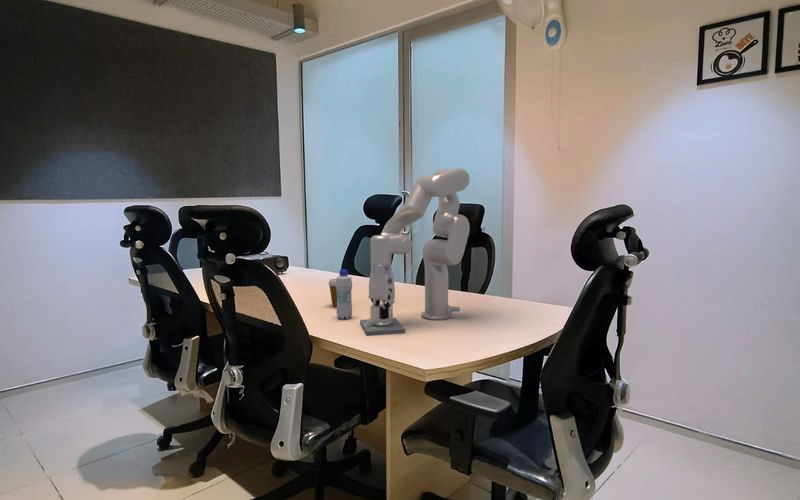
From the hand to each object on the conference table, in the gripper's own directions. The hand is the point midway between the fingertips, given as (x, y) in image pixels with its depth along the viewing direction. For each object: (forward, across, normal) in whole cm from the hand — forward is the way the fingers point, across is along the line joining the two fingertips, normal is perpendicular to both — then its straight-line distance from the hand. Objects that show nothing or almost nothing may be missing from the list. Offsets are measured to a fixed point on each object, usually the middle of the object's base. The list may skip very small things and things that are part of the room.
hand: (381, 317), depth 179 cm
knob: (+2, 0, +1) cm, 3 cm away
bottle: (+4, +22, 0) cm, 22 cm away
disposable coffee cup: (+4, +41, -11) cm, 43 cm away
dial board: (+4, 0, 0) cm, 4 cm away
